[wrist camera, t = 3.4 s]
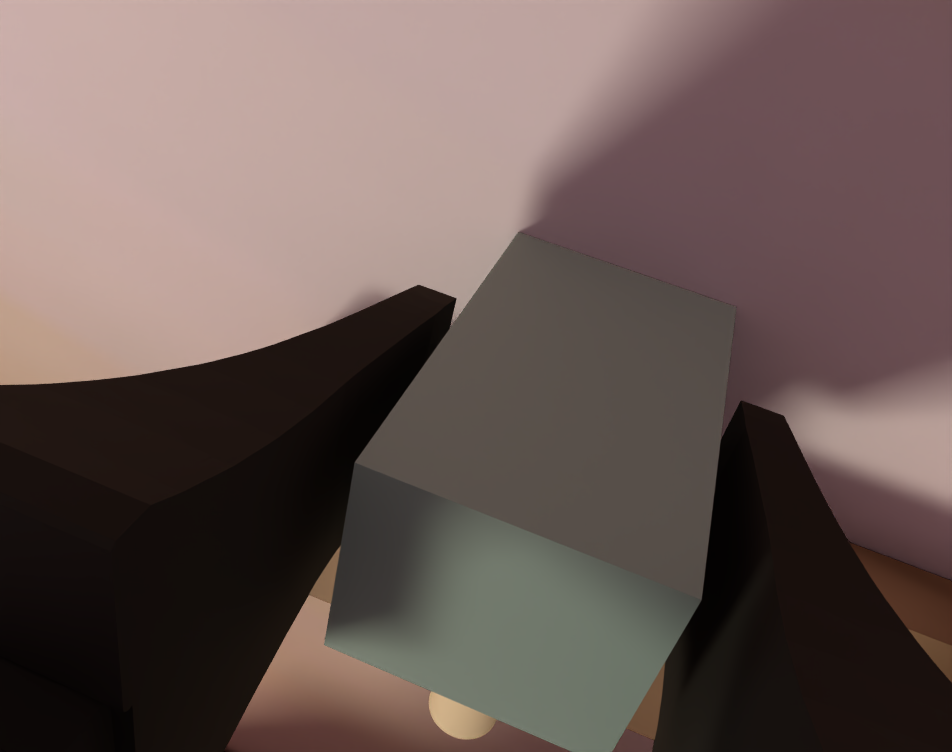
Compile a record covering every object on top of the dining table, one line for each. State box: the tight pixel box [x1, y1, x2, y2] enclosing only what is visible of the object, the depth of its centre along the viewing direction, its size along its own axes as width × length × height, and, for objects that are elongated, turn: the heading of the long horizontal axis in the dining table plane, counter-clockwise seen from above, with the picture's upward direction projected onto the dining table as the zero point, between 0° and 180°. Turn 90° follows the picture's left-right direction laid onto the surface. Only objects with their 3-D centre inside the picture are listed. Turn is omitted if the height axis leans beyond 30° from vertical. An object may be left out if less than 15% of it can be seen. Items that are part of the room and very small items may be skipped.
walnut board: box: [309, 543, 952, 740], centre depth 14 cm, size 24×5×2 cm, turn 77°
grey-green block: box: [324, 232, 736, 752], centre depth 12 cm, size 4×7×6 cm, turn 167°
